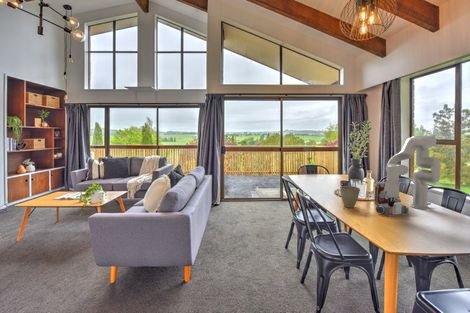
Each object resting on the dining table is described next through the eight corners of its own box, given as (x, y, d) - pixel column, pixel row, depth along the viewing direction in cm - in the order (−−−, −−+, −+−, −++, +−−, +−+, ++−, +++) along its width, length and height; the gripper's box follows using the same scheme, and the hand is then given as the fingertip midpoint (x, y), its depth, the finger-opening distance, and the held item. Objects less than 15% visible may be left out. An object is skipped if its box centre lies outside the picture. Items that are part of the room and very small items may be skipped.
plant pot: (339, 208, 206) (340, 188, 205) (339, 203, 220) (340, 185, 218) (359, 210, 200) (360, 190, 199) (358, 205, 214) (359, 186, 213)
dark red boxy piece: (402, 208, 206) (404, 184, 204) (377, 206, 210) (378, 183, 208) (398, 205, 215) (399, 182, 213) (373, 203, 219) (374, 181, 217)
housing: (395, 210, 200) (396, 202, 200) (408, 214, 189) (408, 205, 189) (373, 212, 195) (373, 203, 194) (385, 216, 184) (385, 207, 184)
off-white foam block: (399, 213, 189) (400, 202, 189) (402, 214, 187) (402, 203, 187) (391, 213, 188) (392, 203, 187) (394, 214, 186) (395, 203, 185)
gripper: (396, 180, 190) (394, 204, 191) (379, 181, 186) (378, 205, 188) (405, 182, 183) (403, 207, 184) (388, 183, 179) (386, 208, 181)
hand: (390, 206), depth 186 cm, fingers closed
